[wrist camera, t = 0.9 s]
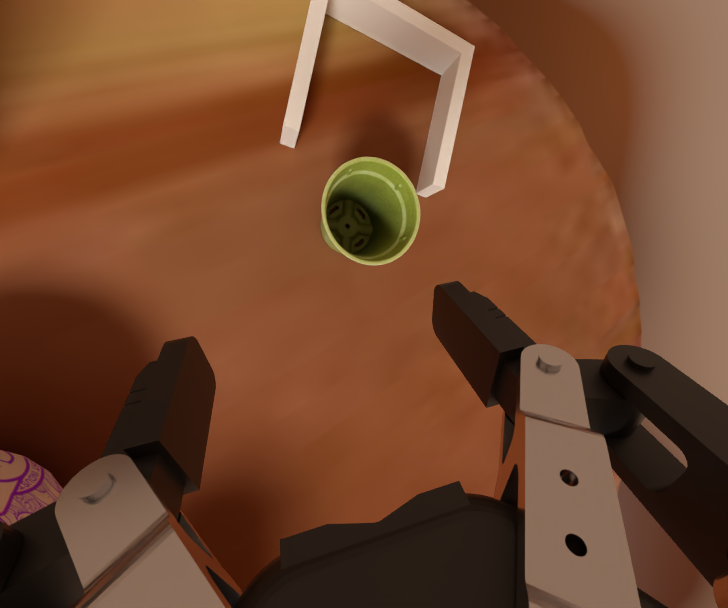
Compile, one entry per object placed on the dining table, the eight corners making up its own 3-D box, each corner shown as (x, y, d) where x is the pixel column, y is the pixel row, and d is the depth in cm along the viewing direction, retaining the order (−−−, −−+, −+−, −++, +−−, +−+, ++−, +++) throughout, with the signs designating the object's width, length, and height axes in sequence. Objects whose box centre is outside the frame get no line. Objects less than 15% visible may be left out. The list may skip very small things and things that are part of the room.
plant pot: (399, 232, 38) (438, 218, 30) (344, 285, 36) (371, 286, 28) (348, 168, 36) (377, 134, 27) (287, 222, 34) (298, 202, 26)
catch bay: (279, 143, 33) (283, 125, 29) (313, -9, 33) (321, -46, 29) (426, 197, 39) (444, 188, 35) (453, 69, 39) (474, 46, 35)
